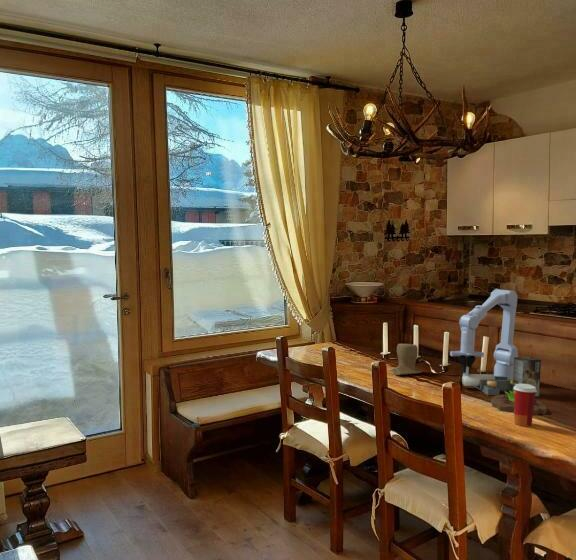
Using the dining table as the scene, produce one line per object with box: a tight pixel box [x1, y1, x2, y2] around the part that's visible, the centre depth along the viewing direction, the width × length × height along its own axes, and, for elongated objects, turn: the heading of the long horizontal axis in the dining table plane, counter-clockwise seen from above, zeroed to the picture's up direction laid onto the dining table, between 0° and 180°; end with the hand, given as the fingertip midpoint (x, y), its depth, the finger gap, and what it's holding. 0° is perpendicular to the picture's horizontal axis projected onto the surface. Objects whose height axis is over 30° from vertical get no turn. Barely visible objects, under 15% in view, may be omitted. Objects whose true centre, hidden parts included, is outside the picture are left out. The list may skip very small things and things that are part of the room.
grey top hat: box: [391, 343, 423, 376], centre depth 275 cm, size 15×12×15 cm
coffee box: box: [512, 356, 542, 397], centre depth 242 cm, size 9×6×16 cm
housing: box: [473, 376, 513, 397], centre depth 248 cm, size 15×16×5 cm
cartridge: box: [461, 365, 495, 387], centre depth 250 cm, size 5×13×9 cm, turn 92°
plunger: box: [487, 381, 497, 388], centre depth 242 cm, size 4×4×5 cm
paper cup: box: [513, 384, 537, 428], centre depth 201 cm, size 8×8×14 cm
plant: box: [490, 380, 548, 416], centre depth 224 cm, size 20×20×11 cm
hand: (466, 372), depth 250 cm, fingers closed on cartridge
